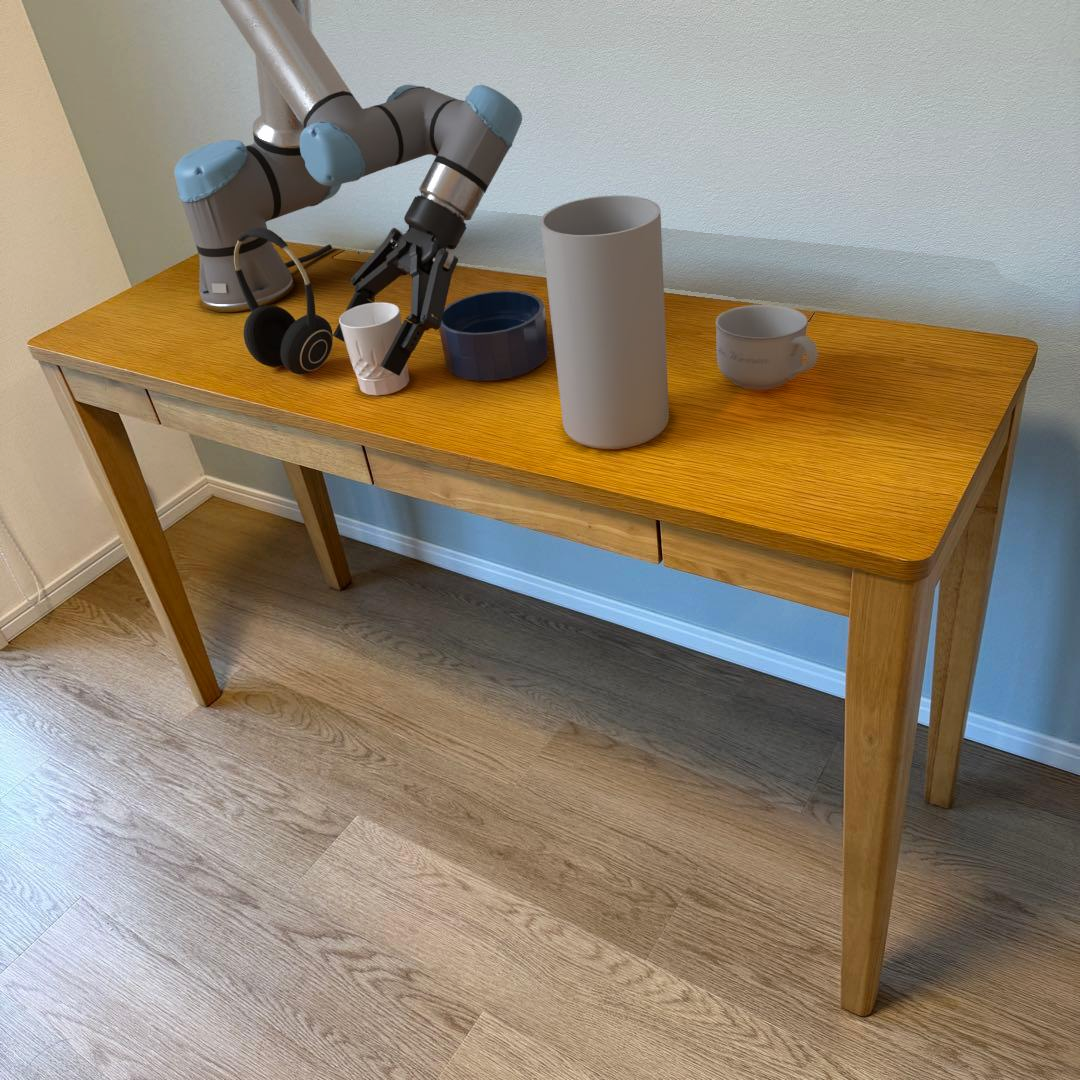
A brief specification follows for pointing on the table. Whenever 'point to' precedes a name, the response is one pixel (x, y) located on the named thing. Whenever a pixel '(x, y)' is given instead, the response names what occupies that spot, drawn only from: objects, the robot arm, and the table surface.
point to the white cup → (373, 346)
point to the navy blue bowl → (494, 335)
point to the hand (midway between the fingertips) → (364, 355)
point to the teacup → (763, 345)
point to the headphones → (284, 323)
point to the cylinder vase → (608, 318)
